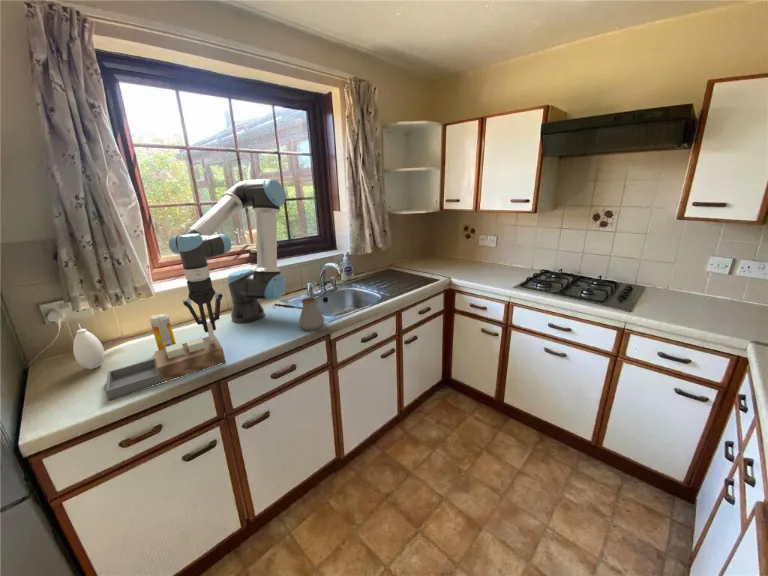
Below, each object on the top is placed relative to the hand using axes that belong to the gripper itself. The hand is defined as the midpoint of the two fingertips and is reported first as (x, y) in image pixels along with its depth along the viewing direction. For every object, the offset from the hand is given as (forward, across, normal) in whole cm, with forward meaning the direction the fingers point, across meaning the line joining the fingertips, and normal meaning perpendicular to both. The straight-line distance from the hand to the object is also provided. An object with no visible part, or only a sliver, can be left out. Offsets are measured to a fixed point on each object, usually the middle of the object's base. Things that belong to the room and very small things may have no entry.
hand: (212, 338), depth 123 cm
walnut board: (+8, -8, 0) cm, 11 cm away
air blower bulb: (+8, -37, +22) cm, 44 cm away
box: (+8, -25, 0) cm, 26 cm away
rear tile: (+2, -6, 0) cm, 6 cm away
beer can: (+8, -14, +19) cm, 25 cm away
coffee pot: (+8, +35, 0) cm, 36 cm away
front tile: (+2, -12, 0) cm, 12 cm away
